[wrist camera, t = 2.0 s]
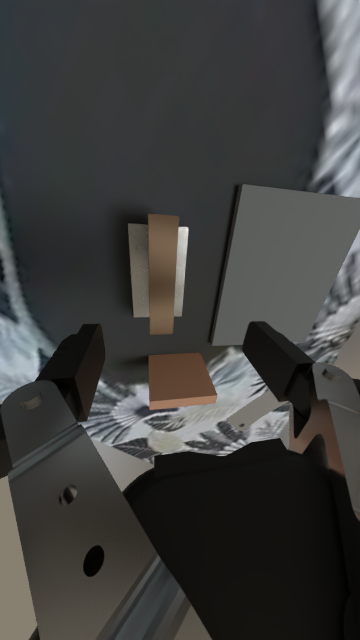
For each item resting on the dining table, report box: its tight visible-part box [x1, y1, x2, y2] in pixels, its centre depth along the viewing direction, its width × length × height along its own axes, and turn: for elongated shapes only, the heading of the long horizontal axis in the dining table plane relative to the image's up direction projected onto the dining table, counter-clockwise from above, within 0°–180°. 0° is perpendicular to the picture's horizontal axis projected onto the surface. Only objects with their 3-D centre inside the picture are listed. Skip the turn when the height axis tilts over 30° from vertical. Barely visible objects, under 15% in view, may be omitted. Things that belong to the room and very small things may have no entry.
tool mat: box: [210, 184, 360, 346], centre depth 27 cm, size 18×22×1 cm
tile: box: [148, 353, 217, 410], centre depth 28 cm, size 9×2×9 cm, turn 86°
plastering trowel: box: [128, 214, 188, 335], centre depth 22 cm, size 13×7×7 cm, turn 176°
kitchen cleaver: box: [226, 390, 288, 431], centre depth 43 cm, size 24×1×10 cm
